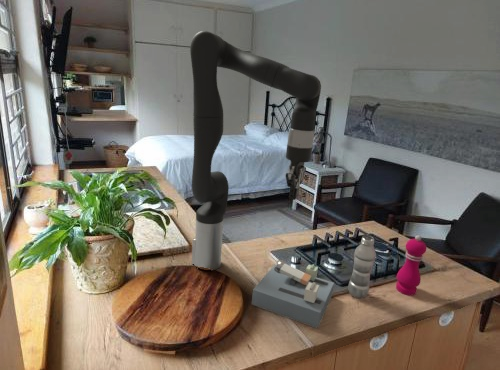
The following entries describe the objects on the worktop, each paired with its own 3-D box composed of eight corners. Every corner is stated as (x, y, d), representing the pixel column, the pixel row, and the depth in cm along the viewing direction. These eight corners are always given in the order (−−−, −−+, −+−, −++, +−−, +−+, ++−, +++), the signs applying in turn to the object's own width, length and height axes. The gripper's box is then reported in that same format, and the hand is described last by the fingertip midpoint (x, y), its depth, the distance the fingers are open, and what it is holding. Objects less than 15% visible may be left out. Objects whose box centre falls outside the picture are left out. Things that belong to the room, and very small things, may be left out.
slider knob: (303, 299, 99) (305, 287, 98) (307, 292, 103) (309, 280, 101) (314, 303, 98) (315, 290, 97) (317, 295, 101) (319, 283, 100)
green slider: (304, 278, 110) (306, 266, 109) (307, 274, 112) (309, 262, 111) (314, 281, 109) (315, 269, 108) (316, 277, 111) (318, 265, 110)
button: (274, 268, 114) (275, 262, 113) (278, 265, 116) (278, 259, 116) (283, 271, 113) (284, 265, 112) (286, 267, 115) (287, 261, 115)
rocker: (278, 272, 108) (279, 269, 107) (283, 266, 112) (285, 262, 111) (306, 286, 105) (307, 282, 104) (310, 278, 109) (311, 275, 108)
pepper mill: (390, 289, 118) (403, 234, 112) (399, 281, 123) (411, 228, 117) (412, 299, 114) (426, 242, 108) (420, 290, 119) (434, 236, 113)
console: (251, 304, 104) (253, 285, 102) (273, 277, 119) (274, 261, 117) (317, 328, 96) (320, 308, 95) (331, 296, 111) (334, 278, 110)
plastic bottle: (345, 297, 111) (356, 240, 105) (347, 286, 117) (358, 231, 112) (367, 303, 109) (379, 244, 103) (368, 292, 115) (379, 236, 110)
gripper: (305, 149, 98) (297, 207, 104) (318, 143, 110) (310, 195, 115) (280, 145, 101) (273, 201, 106) (295, 139, 113) (288, 191, 118)
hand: (292, 198), depth 111 cm, fingers closed
